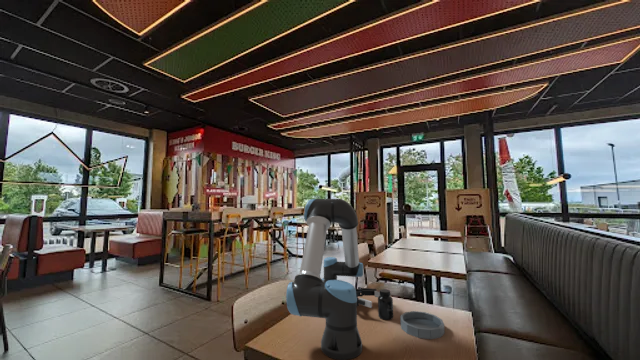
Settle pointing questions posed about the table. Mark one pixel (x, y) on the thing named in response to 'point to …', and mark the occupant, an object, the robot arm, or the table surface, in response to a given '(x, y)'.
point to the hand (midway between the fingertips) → (379, 300)
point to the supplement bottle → (385, 305)
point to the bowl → (422, 325)
